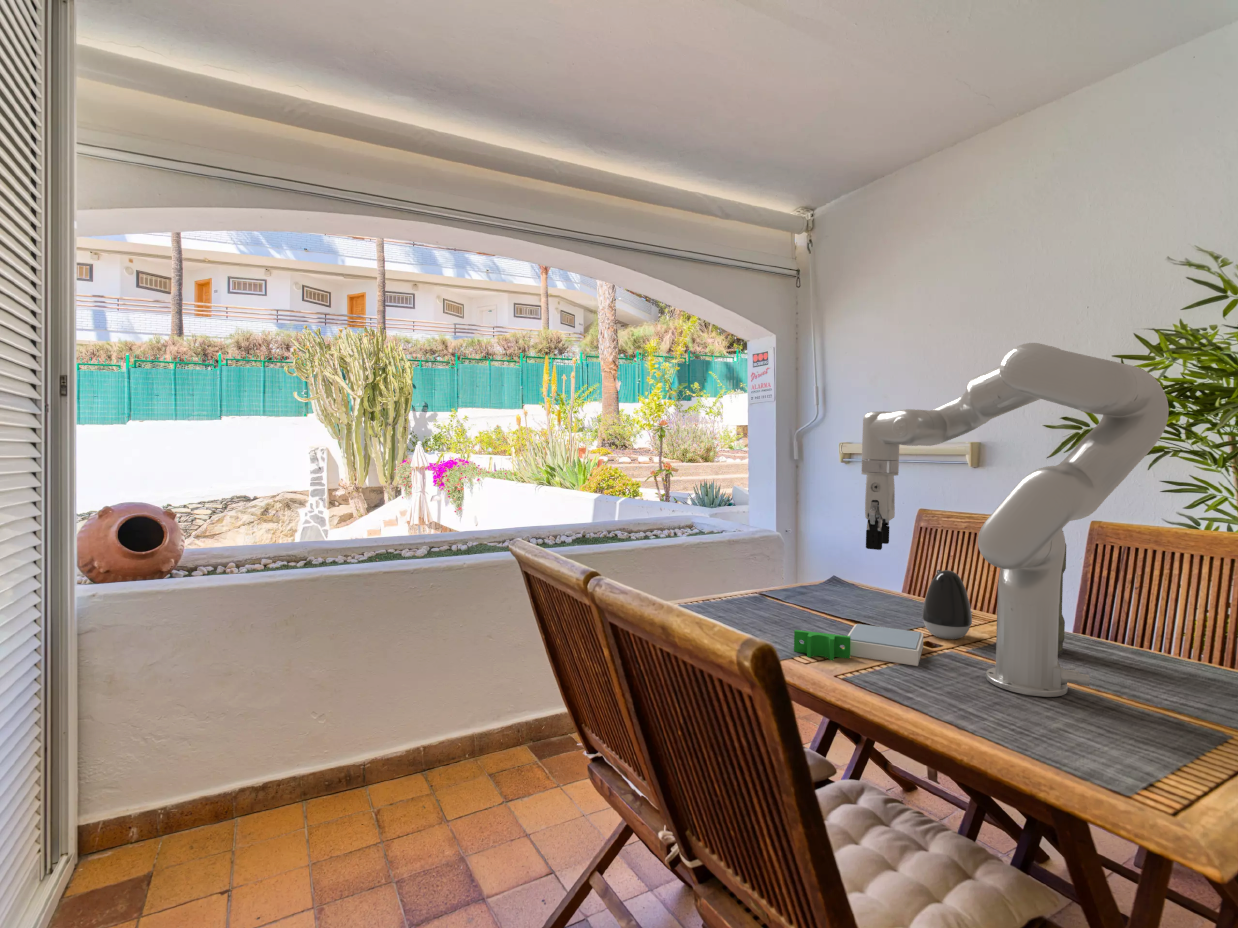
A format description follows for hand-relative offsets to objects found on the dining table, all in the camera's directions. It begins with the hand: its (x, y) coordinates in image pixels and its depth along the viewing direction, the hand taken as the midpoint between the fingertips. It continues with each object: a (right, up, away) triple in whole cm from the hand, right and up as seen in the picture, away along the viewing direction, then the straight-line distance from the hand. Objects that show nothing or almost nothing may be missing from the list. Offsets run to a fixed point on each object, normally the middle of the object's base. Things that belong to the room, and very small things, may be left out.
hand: (877, 546), depth 141 cm
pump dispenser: (+19, -22, +7) cm, 29 cm away
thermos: (+34, -22, -2) cm, 41 cm away
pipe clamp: (-15, -22, -8) cm, 28 cm away
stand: (0, -22, -4) cm, 22 cm away
